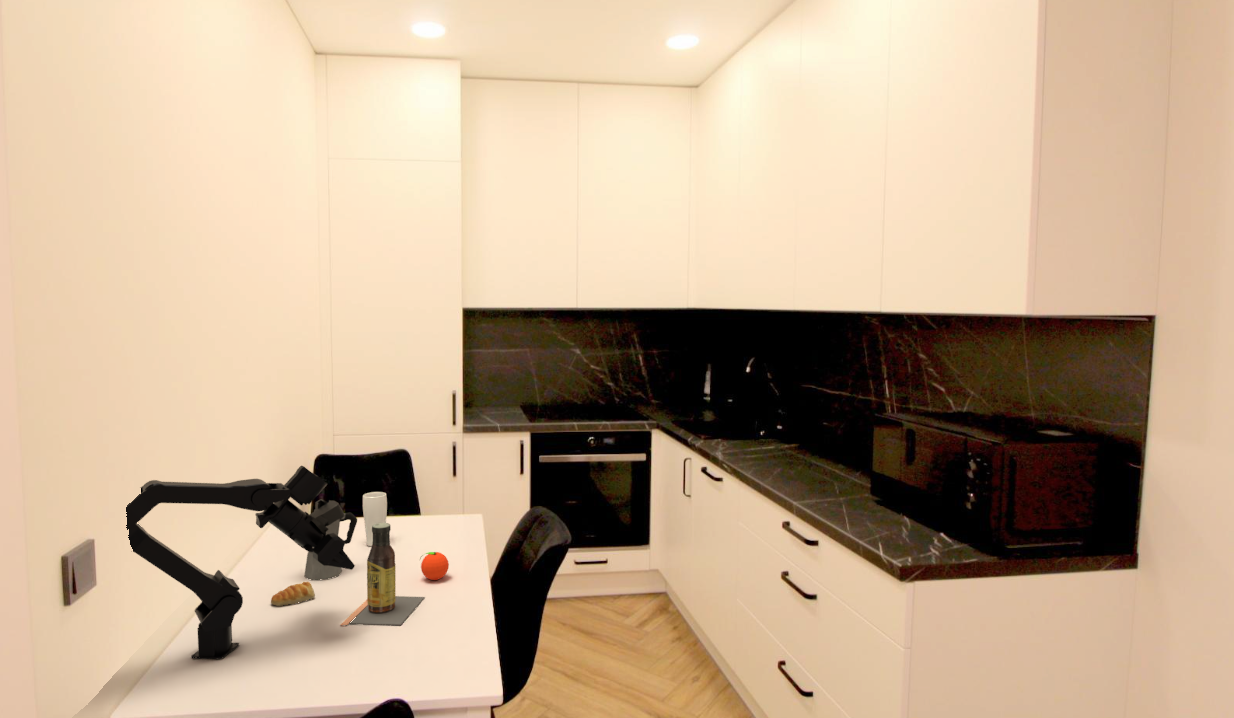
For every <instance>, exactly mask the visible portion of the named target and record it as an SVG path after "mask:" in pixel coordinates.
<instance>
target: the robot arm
mask: <svg viewBox="0 0 1234 718" xmlns="http://www.w3.org/2000/svg"><path fill="white" fill-rule="evenodd" d="M327 485H328V482H326V481H324V480H323V478H321V477H320V476H318V475H317V474H315V473H313V472H312V471H310V470H309V469H308V468H307V467H305V466H303V465H300V466H299V467H298V468H297V469H296V471H295V472H294V474H293V475H292V476H291V477H290V478H289V479H288V480H287V482H285V484H283V483H281V482H266V481H265V480H263V479H260V478H249V479H239V480H236V481H232V482H231V481H230V482H227V483H226V482H225V483H219V482H218V483H216V482H215V483H214V482H212V483H211V482H209V483H208V482H186V481H185V482H184V481H182V482H181V481H160V480H158V479H157V480H156V479H153V480H152V479H151V480H149V481H146V482H145V483H144V484H143V485H142V486H141V487H140V488H141V494H139V495H138V496H137V497H136V498H135V499H134V500H133V501H132V502H131V503H129V504H128V505H127V507H126V512H127V513H126V514H127V516H126V517H127V525H126V526H127V527H126V528H127V530H128V529H129V535H128V536H129V537H128V538H129V540H130V545H131V547H132V549H133V553H135V554H136V555H138V556H140V557H141V558H142V559H144V560H145V561H147V562H148V563H150V564H151V565H153V566H154V567H156V568H157V569H159V570H160V571H162V572H163V573H165V574H166V575H168V576H169V577H171V578H172V579H174V580H175V581H177V582H178V583H180V584H181V585H183V586H184V587H186V588H187V589H189V590H190V591H192V592H193V593H194V594H195V595H196V597H198V599H199V600H200V601H201V602H200V604H199V605H198V606H197V607H195V609H194V613H195V615H196V617H197V618H198V621H199V623H198V624H197V625H198V627H197V646H198V649H197V651H195V652H194V653H193V654H191V655H190V656H191V657H190V658H191V659H200V660H201V659H202V660H203V659H205V660H206V659H207V660H209V659H210V660H221V659H224V658H225V657H227V655H229V654H230V653H232V652H233V651H234V650H235V649H236V648H238V647H239V646H240V642H233V629H232V628H233V627H232V625H233V621H234V619H235V615H236V614H238V612H239V611H240V610H241V608H242V607H243V604H244V603H243V602H244V600H243V599H244V598H243V595H242V594H241V593H240V591H239V590H240V587H239V585H238V584H237V582H236V581H235V579H233V578H229V577H227V576H226V575H224V573H223V572H222V571H221V570H219V569H217V570H216V572H215V574H211V573H208V572H205V571H203V570H202V569H200V568H199V567H198V566H197V565H195V564H194V563H192V562H190V561H189V560H188V559H186V558H185V557H183V556H181V555H180V554H179V553H177V552H175V551H174V550H173V549H172V548H170V547H168V545H166V544H164V543H163V542H161V541H160V540H159V539H157V538H155V537H154V536H152V535H151V534H150V533H148V531H147V530H146V529H145V528H144V527H143V526H142V525H141V524H140V521H141V520H143V518H144V517H145V516H146V515H147V514H149V513H150V512H151V511H152V510H153V509H154V508H155V507H156V506H158V505H159V504H195V505H198V504H199V505H201V504H202V505H226V506H230V507H233V508H234V507H235V508H238V509H242V510H248V511H253V512H256V513H255V518H256V519H255V525H257V527H259V528H260V529H263V528H264V527H265V526H266V525H267V524H268V523H269V524H271V525H272V526H273V527H275V528H276V529H277V530H278V531H280V532H281V533H283V534H284V535H286V537H288V538H289V539H290V540H292V541H293V542H294V543H295V544H296V545H298V546H299V547H300V548H302V549H304V550H305V551H306V552H309V551H310V552H313V557H314V558H315V559H316V560H317V561H318V562H320V563H321V564H322V565H324V566H334V567H340V568H342V569H346V570H351V571H352V570H353V569H354V568H355V566H356V564H354V562H353V561H352V560H351V559H350V557H349V556H348V555H347V554H346V552H345V551H344V547H345V545H346V544H345V541H344V540H345V539H343V538H341V537H340V536H339V535H338V536H337V535H336V534H334V533H330V534H327V535H326V532H327V530H328V528H327V527H325V526H328V525H330V524H332V523H333V522H335V521H337V520H338V519H341V518H343V517H344V516H345V514H344V510H343V509H342V508H341V506H340V503H339V502H337V501H336V500H330V499H329V500H328V501H326V500H324V499H322V498H320V499H319V500H317V501H315V502H314V503H315V509H313V512H311V513H308V512H307V511H303V510H302V509H301V508H299V507H298V506H297V505H296V504H294V503H293V502H292V501H291V500H290V498H291V499H292V500H294V501H295V502H296V503H297V504H298V505H300V506H303V505H305V506H306V505H310V504H311V503H312V502H313V501H314V500H316V498H317V496H319V494H320V493H321V492H322V491H323V490H324V489H325V487H327ZM137 522H138V523H139V524H140V525H141V526H142V527H141V526H140V525H139V524H137Z"/></svg>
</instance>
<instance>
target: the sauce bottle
mask: <svg viewBox="0 0 1234 718" xmlns="http://www.w3.org/2000/svg"><path fill="white" fill-rule="evenodd" d="M372 532H373V542H372V543H373V544H372V547H371V548H370V550H369V553H368V556H367V560H366V565H367V566H366V576H367V577H366V582H367V583H366V587H367V590H366V591H367V592H366V595H367V597H366V598H367V599H366V600H367V603H368V609H369V610H370V611H371V612H375V613H381V612H387V611H390V610H392V609H393V608H394V607H395V600H396V598H395V596H396V554H395V553H396V552H395V550H394V548H393V547H392V545H391V540H390V539H391V538H390V535H391V534H390V533H391V524H390V523H388V522H386V523H376V524H374V525H373V526H372Z"/></svg>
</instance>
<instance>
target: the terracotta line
mask: <svg viewBox="0 0 1234 718" xmlns="http://www.w3.org/2000/svg"><path fill="white" fill-rule="evenodd" d="M367 606H368V603H367V599H366V600H364V602H362V603H361V604H360V605H359V606H358V607H357V608H356V609H355V610H354V611H353V612H352V613H351V614H350V615H349V616H348V617H347V618H346V619H344V621H343V622H341V623H340V625H348V624H349V623H350V622H351V621H352V620H353V619H354V618H355V617H357V616H358V615H359V614H360V613H361V612H362V611H363V610H364V609H365V608H366V607H367ZM349 625H350V624H349ZM349 625H348V626H349Z"/></svg>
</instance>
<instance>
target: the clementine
mask: <svg viewBox="0 0 1234 718" xmlns="http://www.w3.org/2000/svg"><path fill="white" fill-rule="evenodd" d="M425 555H426V556H424V554H422V555H421V556H420V558H419V560H421V559H422V557H423V556H424V557H423V559H422V561H421V564H420V568H421V573H422V575H423V576H424V577H425V578H427V579H428V580H432V581H437V580H440V579H442V578H443V577H445V575H446V574H447V572H448V571H449V566H450V564H449V560H448V558H447V556H445V554H443V553H442V552H440V551H439V552H438V551H428V552H426V553H425Z"/></svg>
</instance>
